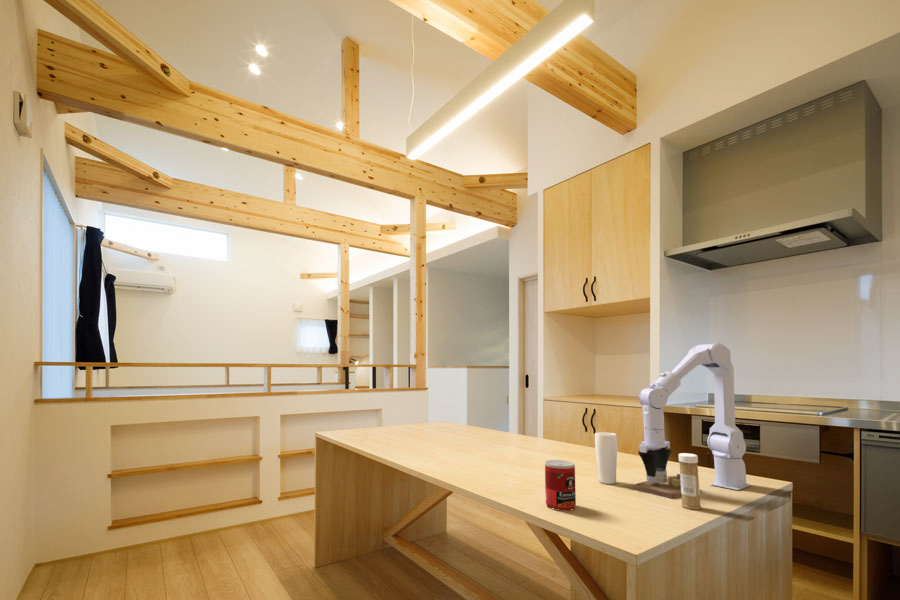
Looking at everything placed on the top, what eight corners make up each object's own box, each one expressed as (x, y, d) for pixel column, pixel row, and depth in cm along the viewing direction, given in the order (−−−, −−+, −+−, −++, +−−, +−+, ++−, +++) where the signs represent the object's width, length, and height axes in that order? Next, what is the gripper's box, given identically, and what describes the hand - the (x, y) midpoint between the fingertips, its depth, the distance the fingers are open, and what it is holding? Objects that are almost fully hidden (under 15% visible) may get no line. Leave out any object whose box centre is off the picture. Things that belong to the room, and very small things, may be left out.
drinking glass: (621, 481, 146) (619, 433, 148) (616, 486, 141) (614, 435, 143) (599, 478, 150) (597, 431, 152) (593, 483, 144) (592, 434, 146)
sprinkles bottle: (704, 508, 120) (701, 454, 122) (695, 511, 117) (691, 456, 119) (687, 503, 124) (684, 452, 125) (677, 506, 121) (674, 453, 123)
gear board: (659, 481, 148) (658, 467, 148) (698, 489, 138) (697, 474, 139) (632, 489, 138) (631, 474, 138) (672, 498, 128) (671, 482, 129)
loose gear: (652, 477, 142) (652, 467, 142) (669, 481, 138) (669, 470, 138) (644, 480, 139) (643, 469, 139) (661, 483, 135) (660, 472, 135)
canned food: (559, 512, 115) (558, 467, 117) (539, 504, 122) (538, 461, 124) (582, 508, 119) (581, 464, 120) (561, 500, 126) (560, 458, 127)
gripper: (653, 425, 148) (655, 469, 146) (628, 428, 139) (630, 475, 137) (675, 427, 142) (677, 473, 141) (651, 431, 134) (653, 480, 132)
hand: (656, 474), depth 138 cm, fingers closed on loose gear, 5 cm apart
